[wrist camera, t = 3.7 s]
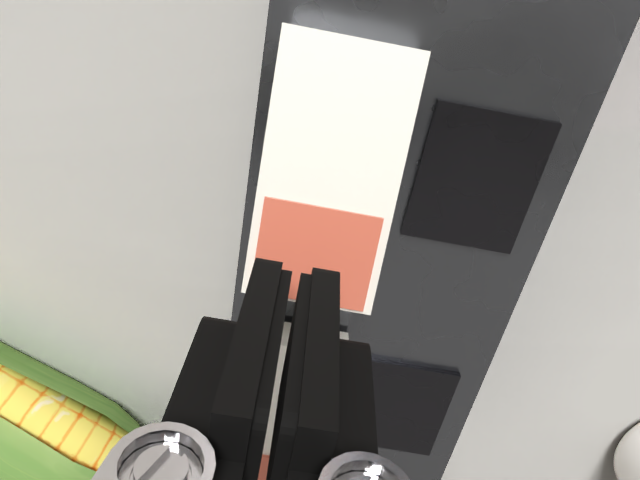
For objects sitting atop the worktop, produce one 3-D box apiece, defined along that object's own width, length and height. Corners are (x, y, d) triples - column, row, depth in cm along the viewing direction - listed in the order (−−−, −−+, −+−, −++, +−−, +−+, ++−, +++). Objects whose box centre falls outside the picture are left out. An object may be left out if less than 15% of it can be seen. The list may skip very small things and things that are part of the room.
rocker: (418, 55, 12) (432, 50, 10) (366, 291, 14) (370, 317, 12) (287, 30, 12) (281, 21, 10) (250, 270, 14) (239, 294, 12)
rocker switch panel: (713, -381, 11) (906, -561, 7) (420, 412, 23) (435, 508, 19) (345, -466, 11) (341, -700, 7) (233, 380, 22) (208, 471, 18)
